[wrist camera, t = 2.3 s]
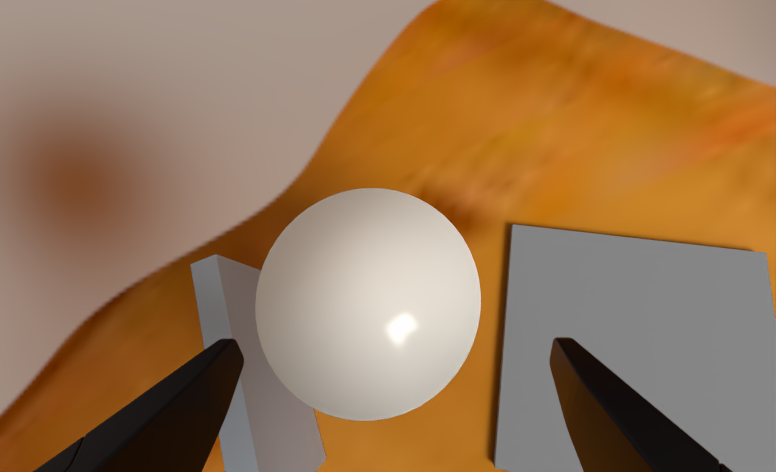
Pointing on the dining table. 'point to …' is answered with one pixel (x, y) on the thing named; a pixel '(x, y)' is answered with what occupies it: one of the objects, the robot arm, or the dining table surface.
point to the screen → (253, 379)
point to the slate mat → (639, 341)
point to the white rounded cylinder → (368, 304)
